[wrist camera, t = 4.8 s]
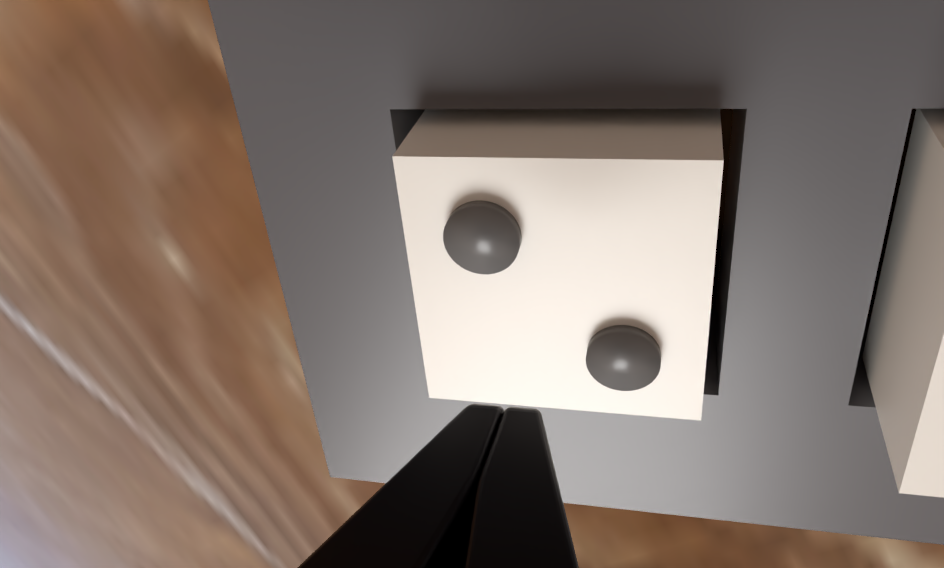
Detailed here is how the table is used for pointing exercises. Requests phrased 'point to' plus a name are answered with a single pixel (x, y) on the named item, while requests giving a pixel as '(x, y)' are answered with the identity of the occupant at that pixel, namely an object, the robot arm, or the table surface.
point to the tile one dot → (913, 318)
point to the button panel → (742, 244)
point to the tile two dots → (564, 254)
